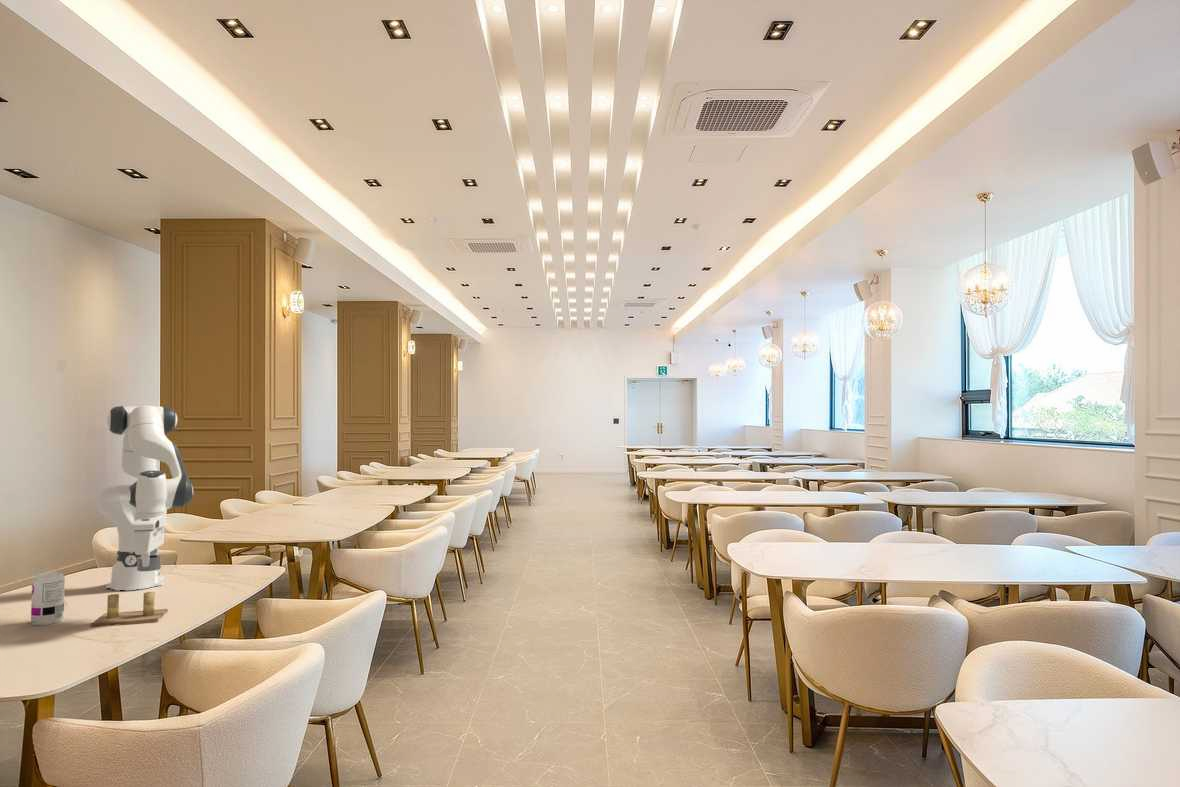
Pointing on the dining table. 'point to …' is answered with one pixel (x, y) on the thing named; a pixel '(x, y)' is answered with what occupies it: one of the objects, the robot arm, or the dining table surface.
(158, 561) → the ring
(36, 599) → the supplement can
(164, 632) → the dining table surface
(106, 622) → the post board
